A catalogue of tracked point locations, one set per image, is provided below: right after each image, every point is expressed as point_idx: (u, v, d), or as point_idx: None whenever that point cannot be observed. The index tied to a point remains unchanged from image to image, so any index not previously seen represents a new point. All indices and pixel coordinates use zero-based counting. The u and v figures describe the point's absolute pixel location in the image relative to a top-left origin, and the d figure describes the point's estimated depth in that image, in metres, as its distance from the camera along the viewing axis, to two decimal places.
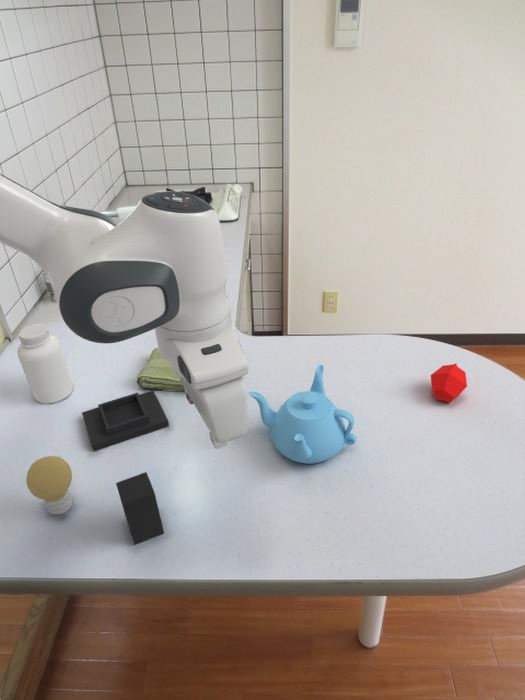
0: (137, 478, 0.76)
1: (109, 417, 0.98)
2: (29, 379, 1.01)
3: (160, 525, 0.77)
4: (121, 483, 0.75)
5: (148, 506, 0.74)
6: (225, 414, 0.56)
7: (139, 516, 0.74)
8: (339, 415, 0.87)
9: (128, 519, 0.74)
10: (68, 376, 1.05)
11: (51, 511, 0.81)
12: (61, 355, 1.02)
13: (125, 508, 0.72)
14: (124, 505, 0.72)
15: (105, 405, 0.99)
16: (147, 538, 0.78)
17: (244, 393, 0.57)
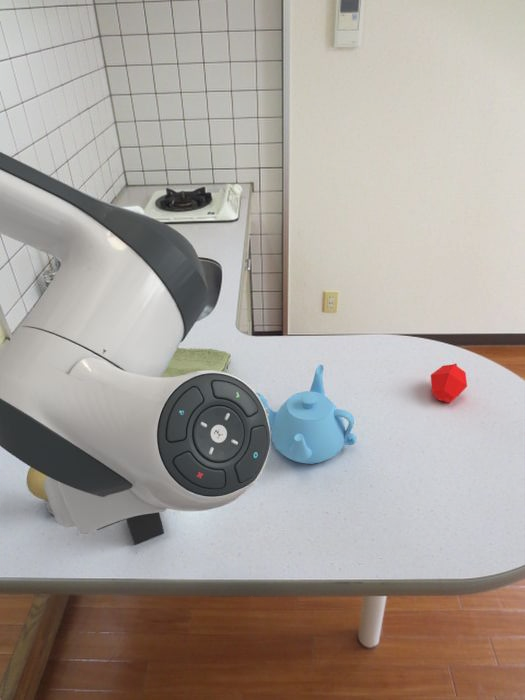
0: None
1: None
2: None
3: (160, 525, 0.77)
4: None
5: None
6: (50, 497, 0.44)
7: (139, 516, 0.74)
8: (339, 415, 0.87)
9: (128, 519, 0.74)
10: None
11: (51, 511, 0.81)
12: None
13: None
14: None
15: None
16: (147, 538, 0.78)
17: (65, 525, 0.43)
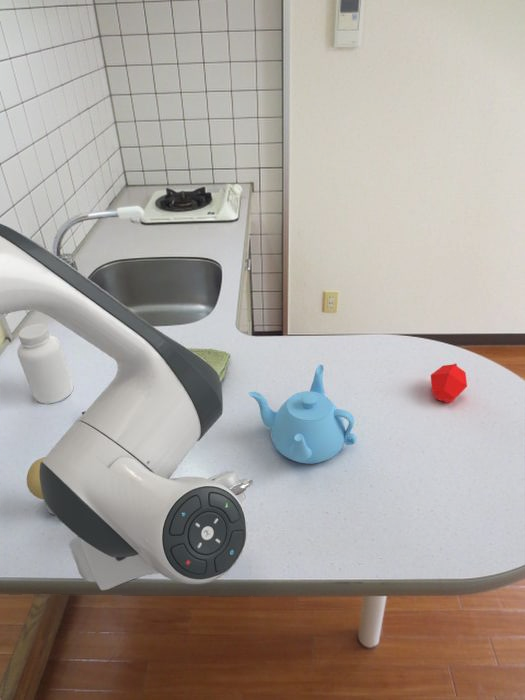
0: None
1: None
2: (29, 379, 1.01)
3: None
4: None
5: None
6: (75, 556, 0.55)
7: None
8: (339, 415, 0.87)
9: None
10: (68, 376, 1.05)
11: (51, 511, 0.81)
12: (61, 355, 1.02)
13: None
14: None
15: None
16: None
17: (88, 580, 0.54)
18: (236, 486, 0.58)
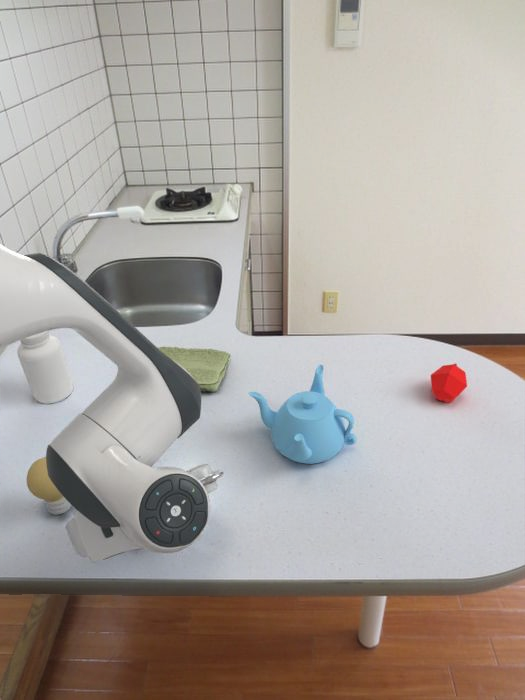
0: None
1: None
2: (29, 379, 1.01)
3: None
4: None
5: None
6: (70, 535, 0.65)
7: None
8: (339, 415, 0.87)
9: None
10: (68, 376, 1.05)
11: (51, 511, 0.81)
12: (61, 355, 1.02)
13: None
14: None
15: None
16: None
17: (81, 555, 0.64)
18: (208, 476, 0.68)
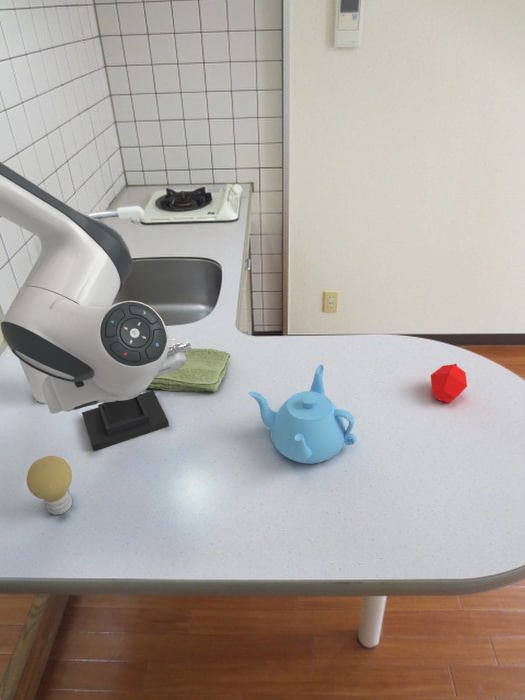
0: None
1: None
2: (29, 379, 1.01)
3: (134, 405, 0.82)
4: None
5: None
6: (46, 394, 0.70)
7: None
8: (339, 415, 0.87)
9: None
10: None
11: (51, 511, 0.81)
12: None
13: None
14: None
15: None
16: (122, 418, 0.82)
17: (55, 409, 0.68)
18: (175, 344, 0.73)
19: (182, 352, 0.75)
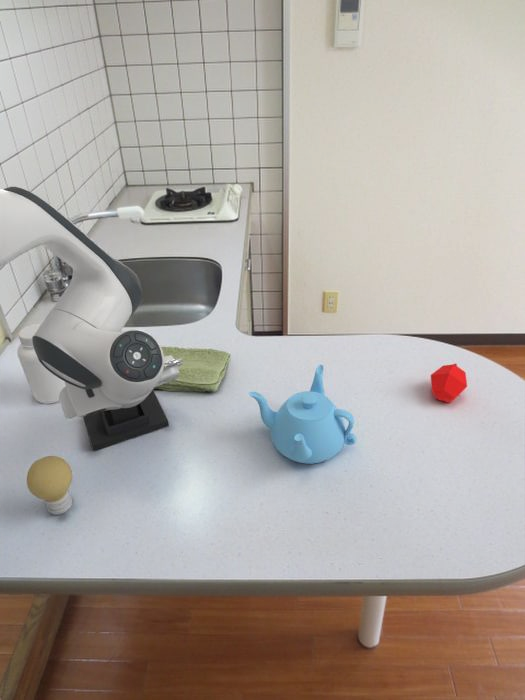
0: None
1: (109, 417, 0.98)
2: (29, 379, 1.01)
3: (136, 411, 0.96)
4: None
5: None
6: (62, 402, 0.84)
7: None
8: (339, 415, 0.87)
9: None
10: None
11: (51, 511, 0.81)
12: None
13: None
14: None
15: None
16: None
17: (70, 415, 0.82)
18: (170, 361, 0.87)
19: (176, 367, 0.89)
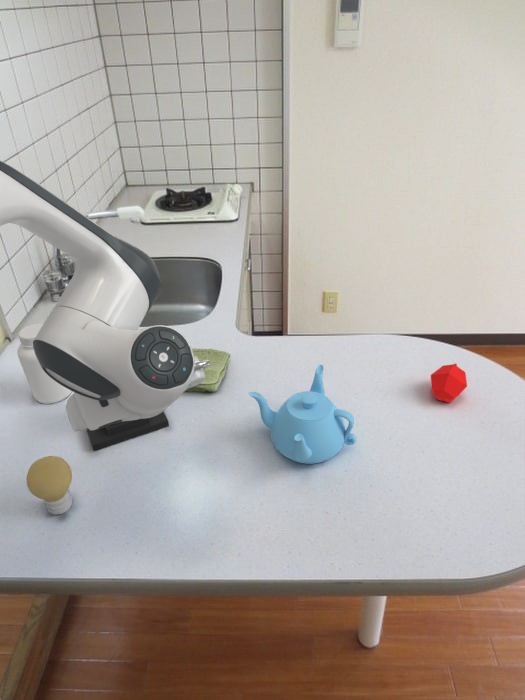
0: None
1: None
2: (29, 379, 1.01)
3: None
4: None
5: None
6: (70, 413, 0.71)
7: None
8: (339, 415, 0.87)
9: None
10: None
11: (51, 511, 0.81)
12: None
13: None
14: None
15: None
16: None
17: (80, 427, 0.70)
18: (196, 362, 0.74)
19: (201, 369, 0.77)
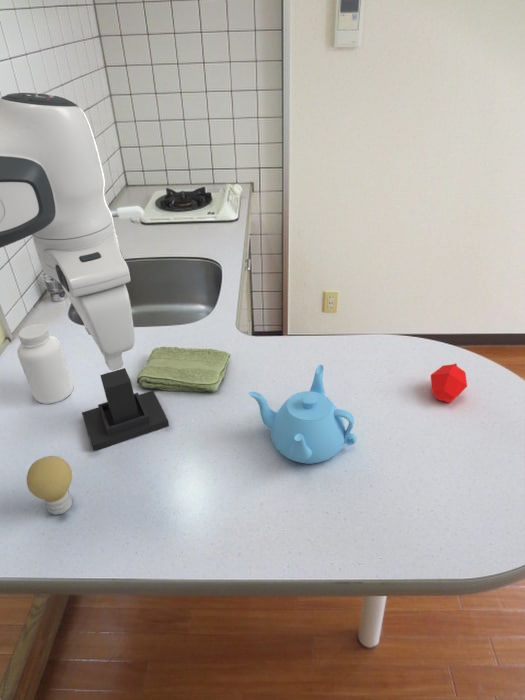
0: (117, 372, 0.95)
1: (109, 417, 0.98)
2: (29, 379, 1.01)
3: (136, 411, 0.96)
4: (104, 375, 0.94)
5: (126, 392, 0.93)
6: (108, 323, 0.55)
7: (119, 401, 0.93)
8: (339, 415, 0.87)
9: (110, 402, 0.93)
10: (68, 376, 1.05)
11: (51, 511, 0.81)
12: (61, 355, 1.02)
13: (107, 391, 0.91)
14: (106, 389, 0.91)
15: (105, 405, 0.99)
16: None
17: (127, 301, 0.56)
18: None
19: None
